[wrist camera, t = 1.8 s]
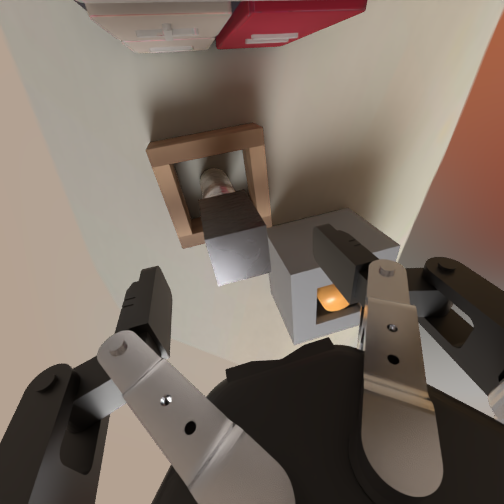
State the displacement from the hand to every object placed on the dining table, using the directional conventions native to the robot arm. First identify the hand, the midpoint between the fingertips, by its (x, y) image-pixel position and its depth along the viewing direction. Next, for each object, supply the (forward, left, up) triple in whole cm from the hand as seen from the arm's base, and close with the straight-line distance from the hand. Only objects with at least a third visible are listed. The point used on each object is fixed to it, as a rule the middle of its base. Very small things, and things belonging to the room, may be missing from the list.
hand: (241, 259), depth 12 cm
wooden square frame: (0, 0, -12) cm, 12 cm away
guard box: (+11, +9, -12) cm, 18 cm away
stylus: (0, 0, -12) cm, 12 cm away
